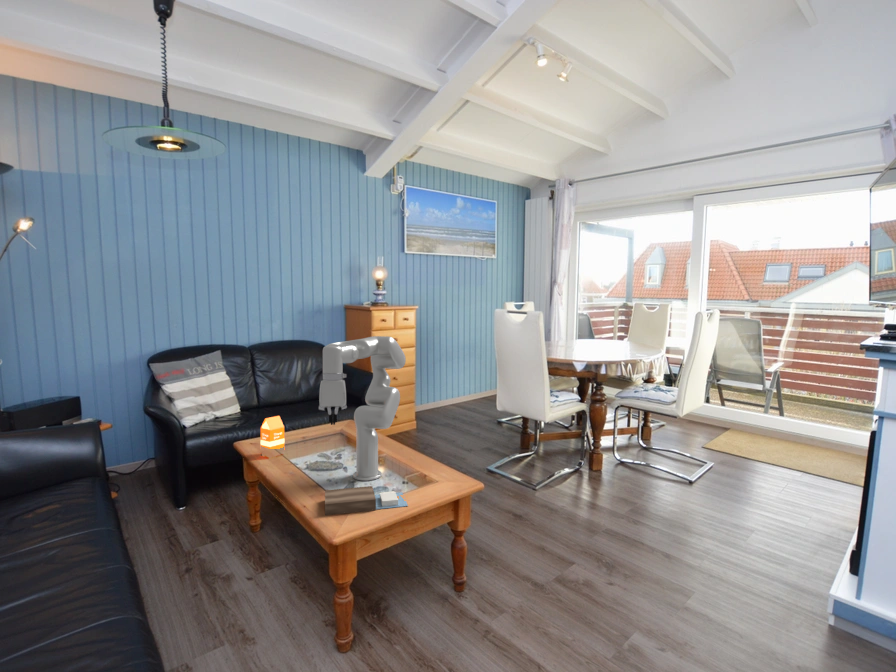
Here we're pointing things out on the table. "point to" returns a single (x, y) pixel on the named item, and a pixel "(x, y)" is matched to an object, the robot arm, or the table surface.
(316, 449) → the table surface
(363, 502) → the brown wooden block
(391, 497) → the off-white flat slab
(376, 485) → the table surface
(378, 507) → the mat
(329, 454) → the table surface
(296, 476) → the table surface
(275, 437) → the orange juice
